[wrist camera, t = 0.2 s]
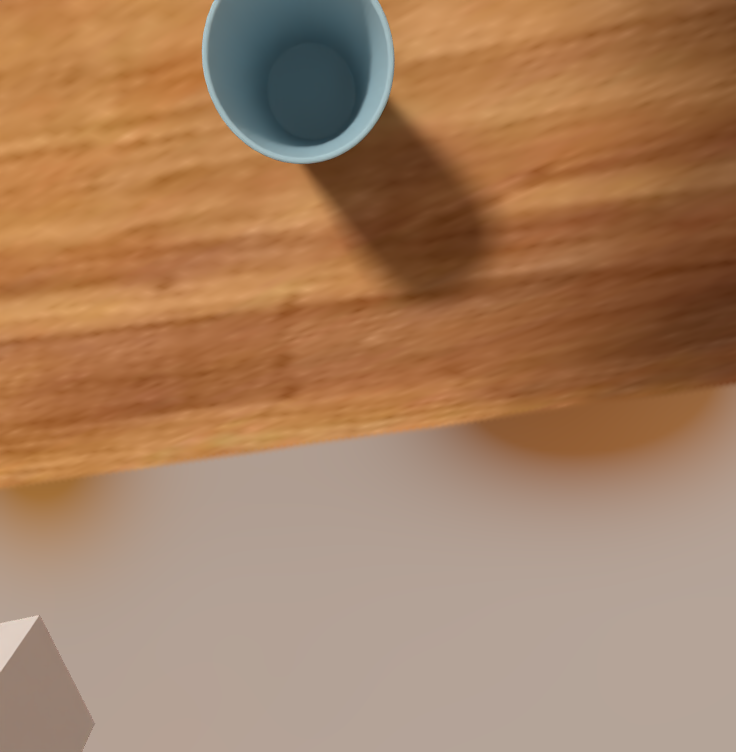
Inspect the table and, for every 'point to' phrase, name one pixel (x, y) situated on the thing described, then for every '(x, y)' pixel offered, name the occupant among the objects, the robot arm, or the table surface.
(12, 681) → the robot arm
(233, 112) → the cup
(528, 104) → the table surface
